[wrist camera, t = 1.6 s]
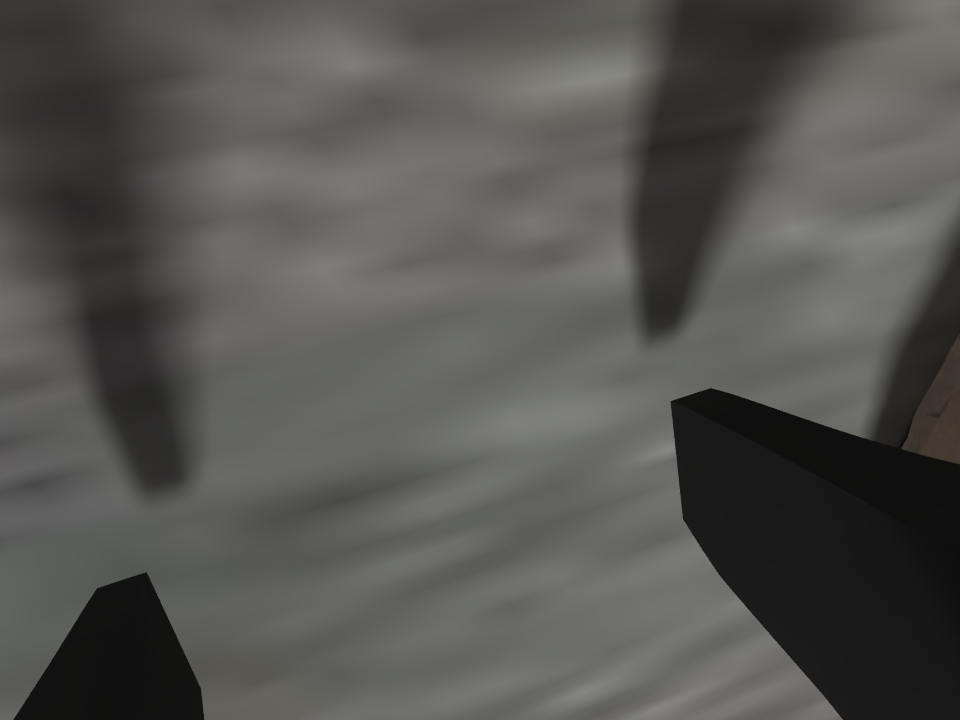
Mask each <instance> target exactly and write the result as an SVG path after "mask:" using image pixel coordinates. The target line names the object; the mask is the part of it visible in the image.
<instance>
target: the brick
mask: <svg viewBox="0 0 960 720" xmlns="http://www.w3.org/2000/svg"><path fill="white" fill-rule="evenodd" d="M901 449H903V450H906V451H910V452H914V453H917V454H921V455H924V456H928V457H932V458H936V459H940V460H944V461H949V462H953V463H957V464H960V334H959V336H958V337H957V339H956V341H955V342H954V344H953V346H952V347H951V349H950V351H949V353H948V355H947V357H946V359H945V361H944V363H943V365H942V367H941V369H940V370H939V372H938V374H937V376H936V377H935V379H934V381H933V383H932V384H931V386H930V388H929V390H928V391H927V393H926V395H925V396H924V398H923V400H922V402H921V403H920V405H919V407H918V408H917V410H916V413H915V415H914V417H913V421H912V424H911V427H910V431H909V434H908V437H907V439H906V441H905V443H904V444H903V446H902V448H901Z"/></svg>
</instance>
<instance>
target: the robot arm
mask: <svg viewBox="0 0 960 720" xmlns="http://www.w3.org/2000/svg"><path fill="white" fill-rule="evenodd" d="M671 409H672V419H673V428H674V438H675V447H676V456H677V466H678V475H679V485H680V494H681V504H682V513H683V520H684V521H685V523H686V524H687V526H688V528H689V529H690V531H691V532H692V534H693V536H694V537H695V539H696V540H697V542H698V543H699V545H700V547H701V548H702V550H703V551H704V553H705V554H706V556H707V557H708V559H709V560H710V562H711V563H712V565H713V566H714V568H715V569H716V571H717V572H718V574H719V575H720V576H721V578H722V579H723V580H724V581H725V582H726V584H727V585H728V586H729V587H730V588H731V589H732V591H733V592H734V593H735V594H736V595H737V596H738V598H739V599H740V600H741V601H742V602H743V603H744V605H745V606H746V607H747V608H748V609H749V610H750V612H751V613H752V614H753V615H754V616H755V617H756V619H757V620H758V621H759V622H760V623H761V624H762V625H763V627H764V628H765V629H766V630H767V631H768V632H769V633H770V635H771V636H772V637H773V638H774V639H775V640H776V641H777V643H778V644H779V645H780V646H781V647H782V648H783V649H784V651H785V652H786V653H787V654H788V655H789V656H790V657H791V659H792V660H793V661H794V662H795V663H796V664H797V665H798V667H799V668H800V669H801V670H802V671H803V672H804V673H805V675H806V676H807V677H808V678H809V679H810V680H811V681H812V683H813V684H814V685H815V686H816V687H817V688H818V690H819V691H820V692H821V693H822V694H823V695H824V696H825V698H826V699H827V700H828V701H829V703H830V704H831V705H832V706H833V708H834V709H835V710H836V711H837V713H838V714H839V715H840V716H841V718H842V719H843V720H960V464H957V463H953V462H949V461H944V460H940V459H936V458H932V457H928V456H924V455H921V454H917V453H914V452H910V451H906V450H903V449H899V448H895V447H892V446H888V445H885V444H881V443H878V442H874V441H871V440H868V439H865V438H861V437H858V436H855V435H852V434H848V433H845V432H842V431H839V430H836V429H833V428H830V427H827V426H824V425H821V424H818V423H815V422H812V421H809V420H806V419H803V418H800V417H797V416H795V415H792V414H789V413H786V412H783V411H780V410H777V409H774V408H771V407H769V406H766V405H763V404H760V403H757V402H754V401H751V400H748V399H745V398H742V397H739V396H736V395H733V394H730V393H726V392H723V391H719V390H715V389H712V388H710V389H707V390H704V391H701V392H697V393H694V394H691V395H688V396H685V397H682V398H679V399H676V400H673V401H671ZM13 720H204V713H203V704H202V695H201V688H200V686H199V684H198V682H197V679H196V677H195V675H194V673H193V671H192V669H191V667H190V664H189V662H188V660H187V658H186V656H185V654H184V651H183V649H182V647H181V645H180V643H179V641H178V639H177V636H176V634H175V632H174V630H173V628H172V626H171V624H170V621H169V619H168V617H167V615H166V613H165V611H164V609H163V606H162V604H161V602H160V600H159V598H158V596H157V593H156V591H155V589H154V587H153V585H152V583H151V581H150V578H149V576H148V574H147V572H146V573H143V574H140V575H137V576H133V577H130V578H127V579H124V580H121V581H118V582H115V583H112V584H109V585H106V586H103V587H100V588H97V590H96V591H95V592H94V594H93V595H92V597H91V598H90V600H89V602H88V603H87V605H86V606H85V608H84V609H83V611H82V613H81V614H80V616H79V617H78V619H77V621H76V622H75V624H74V626H73V627H72V629H71V630H70V632H69V634H68V635H67V637H66V638H65V640H64V642H63V643H62V645H61V647H60V648H59V650H58V651H57V653H56V655H55V656H54V658H53V659H52V661H51V663H50V664H49V666H48V667H47V669H46V670H45V672H44V673H43V675H42V676H41V678H40V680H39V681H38V683H37V684H36V686H35V687H34V689H33V690H32V692H31V694H30V695H29V697H28V698H27V700H26V701H25V703H24V704H23V706H22V707H21V709H20V711H19V712H18V714H17V715H16V717H15V718H14V719H13Z"/></svg>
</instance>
